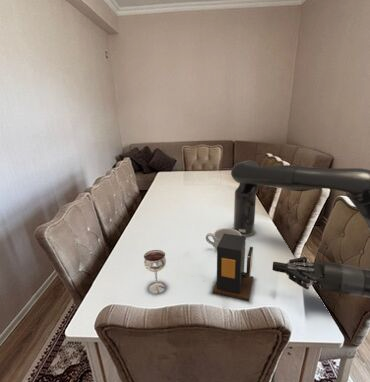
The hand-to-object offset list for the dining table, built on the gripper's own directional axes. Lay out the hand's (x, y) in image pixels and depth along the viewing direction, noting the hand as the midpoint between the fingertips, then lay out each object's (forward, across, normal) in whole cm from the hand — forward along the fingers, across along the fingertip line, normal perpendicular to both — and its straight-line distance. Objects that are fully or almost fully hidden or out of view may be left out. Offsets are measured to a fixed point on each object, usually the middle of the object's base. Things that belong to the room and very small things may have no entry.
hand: (272, 265), depth 73 cm
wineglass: (+34, +9, +10) cm, 37 cm away
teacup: (+19, -20, +10) cm, 29 cm away
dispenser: (+12, 0, +10) cm, 16 cm away
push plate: (+7, 0, +3) cm, 7 cm away
